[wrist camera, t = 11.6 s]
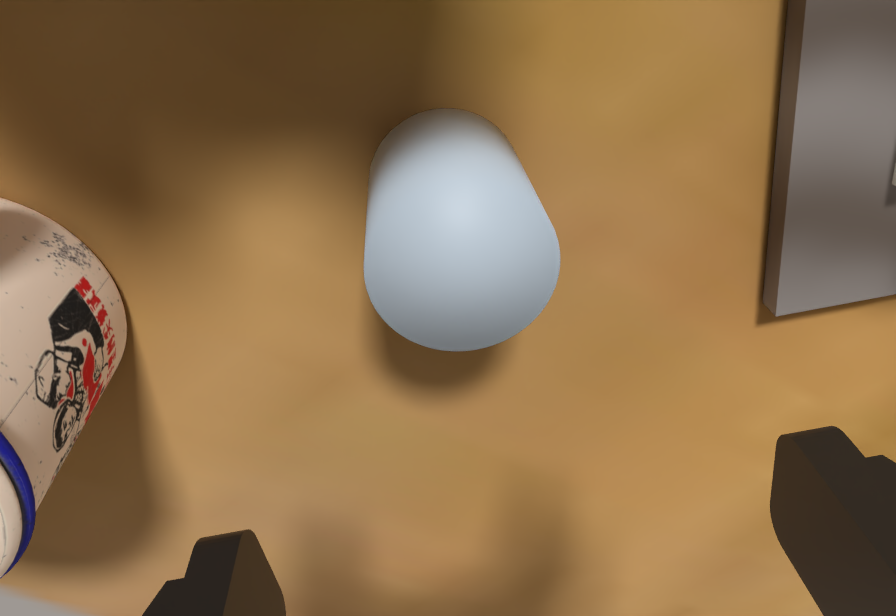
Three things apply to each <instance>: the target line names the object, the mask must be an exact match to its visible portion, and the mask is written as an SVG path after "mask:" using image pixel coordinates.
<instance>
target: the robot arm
mask: <svg viewBox="0 0 896 616" xmlns="http://www.w3.org/2000/svg"><path fill="white" fill-rule="evenodd" d="M770 513H771V519H772V523H773V527H774V530H775V533H776V535H777V538H778V540H779V542H780V544H781V546H782V548H783V550H784V551H785V553H786V555H787V556H788V558H789V560H790V561H791V563H792V564H793V566H794V568H795V569H796V571H797V573H798V574H799V576H800V578H801V579H802V581H803V582H804V584H805V586H806V587H807V589H808V591H809V592H810V594H811V596H812V597H813V599H814V600H815V602H816V604H817V605H818V607H819V609H820V610H821V612H822V614H823V615H824V616H896V463H895V462H893V461H892V460H890V459H888V458H887V457H885V456H883V455H878V456H873V457H867V458H865V457H864V455H863V454H862V453H861V452H860V451H859V450H858V448H857V447H856V446H855V445H854V444H853V443H852V441H851V440H850V439H849V438H848V437H847V436H846V435H845V433H844V432H843V431H841V430H840V429H839V428H837V427H834V426H828V427H823V428H817V429H812V430H806V431H801V432H795V433H790V434H784V435H781V436H780V437H779V438H778V440H777V444H776V452H775V461H774V471H773V480H772V489H771V499H770ZM142 616H286V610H285V603H284V598H283V594H282V591H281V589H280V586H279V584H278V582H277V580H276V578H275V576H274V574H273V571H272V569H271V567H270V565H269V563H268V561H267V559H266V557H265V554H264V552H263V550H262V548H261V546H260V544H259V542H258V539H257V537H256V536H255V534H254V533H253V531H251V530H249V529H248V530H242V531H237V532H231V533H226V534H220V535H215V536H209V537H203V538H200V539H199V540H198V541H197V542H196V544H195V546H194V548H193V551H192V554H191V557H190V561H189V564H188V567H187V571H186V574H185V577H184V578H181V579H176V580H170V581H166V583H165V584H164V586H163V587H162V588H161V590H160V591H159V593H158V594H157V595H156V597H155V598H154V599H153V601H152V602H151V604H150V605H149V606H148V608H147V609H146V611H145V612H144V613H143V615H142Z"/></svg>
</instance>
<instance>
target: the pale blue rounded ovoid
mask: <svg viewBox="0 0 896 616" xmlns="http://www.w3.org/2000/svg"><path fill="white" fill-rule="evenodd" d="M559 269H560V249H559V243H558V239H557V236H556V233H555V230H554V228H553V226H552V224H551V222H550V220H549V218H548V216H547V214H546V212H545V210H544V208H543V206H542V204H541V202H540V200H539V198H538V196H537V194H536V192H535V190H534V188H533V186H532V184H531V182H530V180H529V178H528V176H527V174H526V173H525V171H524V169H523V167H522V165H521V163H520V161H519V159H518V157H517V155H516V153H515V151H514V149H513V147H512V145H511V143H510V142H509V140H508V139H507V137H506V136H505V135H504V134H503V133H502V131H501V130H500V129H499V128H498V127H496V126H495V125H494V124H493V123H491V122H490V121H488V120H487V119H485V118H483V117H482V116H479V115H477V114H475V113H472V112H469V111H465V110H461V109H454V108H440V109H432V110H428V111H424V112H421V113H418V114H416V115H413V116H411V117H409V118H407V119H406V120H404V121H402V122H401V123H400V124H398V125H397V126H396V127H394V128H393V129H392V130H391V131H390V132H389V133H388V134H387V135H386V137H385V138H384V139H383V141H382V142H381V143H380V145H379V147H378V148H377V150H376V152H375V155H374V157H373V160H372V163H371V167H370V171H369V181H368V199H367V216H366V234H365V252H364V279H365V284H366V289H367V292H368V295H369V297H370V300H371V302H372V304H373V306H374V308H375V309H376V311H377V312H378V314H379V315H380V316H381V318H382V319H383V320H384V321H385V322H386V323H387V324H388V325H389V326H390V327H391V328H392V329H393V330H395V331H396V332H397V333H398V334H400V335H402V336H403V337H405V338H407V339H408V340H410V341H412V342H415V343H417V344H419V345H422V346H425V347H428V348H432V349H437V350H443V351H470V350H477V349H481V348H486V347H489V346H492V345H495V344H498V343H500V342H503V341H505V340H507V339H509V338H511V337H512V336H514V335H516V334H517V333H519V332H520V331H522V330H523V329H524V328H525V327H527V326H528V325H529V324H530V323H531V322H532V321H533V320H534V319H535V318H536V317H537V316H538V315H539V314H540V313H541V311H542V310H543V309H544V307H545V306H546V304H547V303H548V301H549V299H550V298H551V296H552V293H553V291H554V289H555V286H556V283H557V279H558V276H559Z"/></svg>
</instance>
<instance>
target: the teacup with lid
mask: <svg viewBox="0 0 896 616" xmlns="http://www.w3.org/2000/svg"><path fill="white" fill-rule="evenodd" d="M126 338H127V323H126V315H125V310H124V305H123V302H122V299H121V296H120V294H119V291H118V289H117V287H116V285H115V283H114V281H113V279H112V278H111V276H110V274H109V273H108V271H107V270H106V268H105V267H104V266H103V264H102V263H101V262H100V260H99V259H98V258H97V257H96V256H95V255H94V253H93V252H92V251H91V250H90V249H89V248H88V247H87V246H86V245H85V244H84V243H83V242H81V241H80V240H79V239H78V238H77V237H76V236H74V235H73V234H72V233H71V232H69V231H68V230H66V229H65V228H64V227H62V226H61V225H59V224H58V223H56V222H55V221H53V220H51V219H50V218H48V217H46V216H44V215H42V214H41V213H39V212H37V211H35V210H32V209H30V208H28V207H26V206H23V205H21V204H18V203H15V202H12V201H10V200H7V199H3V198H0V578H2V577H3V576H4V575H5V574H6V573H7V572H9V571H10V570H11V569H12V567H13V566H14V565H15V564H16V563H17V562H18V561H19V559H20V558H21V556H22V555H23V553H24V551H25V550H26V548H27V546H28V544H29V541H30V539H31V537H32V533H33V529H34V525H35V516H36V510H37V509H38V507H39V505H40V503H41V501H42V500H43V498H44V496H45V494H46V493H47V491H48V489H49V487H50V486H51V484H52V482H53V480H54V478H55V477H56V475H57V473H58V471H59V470H60V468H61V466H62V464H63V463H64V461H65V459H66V457H67V455H68V454H69V452H70V450H71V448H72V447H73V445H74V443H75V441H76V440H77V438H78V436H79V434H80V432H81V431H82V429H83V427H84V425H85V424H86V422H87V420H88V418H89V417H90V415H91V413H92V411H93V409H94V408H95V406H96V404H97V402H98V401H99V399H100V397H101V395H102V394H103V392H104V390H105V388H106V387H107V385H108V383H109V381H110V379H111V378H112V376H113V374H114V372H115V371H116V369H117V367H118V365H119V363H120V361H121V358H122V355H123V352H124V349H125V344H126Z"/></svg>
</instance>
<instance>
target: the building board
mask: <svg viewBox="0 0 896 616" xmlns="http://www.w3.org/2000/svg"><path fill="white" fill-rule="evenodd" d="M894 294H896V0H788V9H787V21H786V32H785V44H784V56H783V68H782V80H781V92H780V104H779V115H778V127H777V139H776V151H775V163H774V175H773V186H772V198H771V210H770V222H769V234H768V246H767V258H766V269H765V281H764V293H763V303H764V305H765V306H766V307H767V308H768V309H769V310H770V311H771V312H772V313H773V314H774V315H775V316H781V315H787V314H792V313H797V312H803V311H808V310H813V309H819V308H824V307H830V306H835V305H840V304H846V303H851V302H856V301H862V300H867V299H872V298H878V297H883V296H889V295H894Z"/></svg>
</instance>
